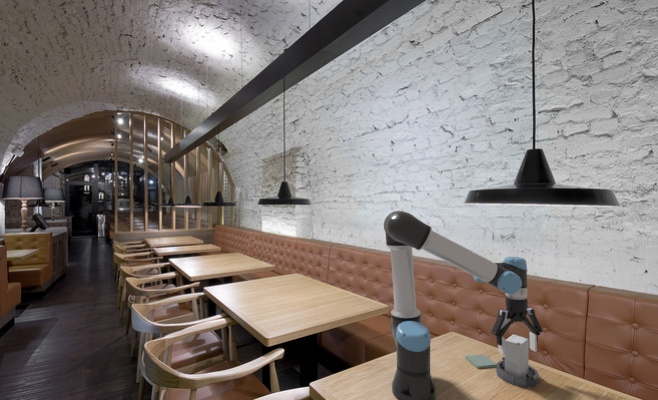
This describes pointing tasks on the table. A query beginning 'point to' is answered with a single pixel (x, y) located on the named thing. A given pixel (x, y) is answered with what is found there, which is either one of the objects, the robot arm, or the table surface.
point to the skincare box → (517, 356)
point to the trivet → (480, 361)
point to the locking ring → (530, 381)
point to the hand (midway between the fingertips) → (517, 351)
